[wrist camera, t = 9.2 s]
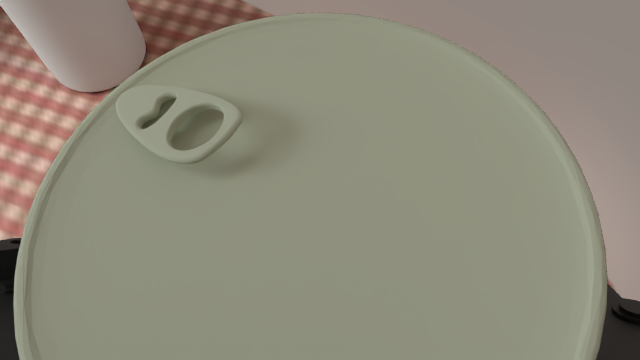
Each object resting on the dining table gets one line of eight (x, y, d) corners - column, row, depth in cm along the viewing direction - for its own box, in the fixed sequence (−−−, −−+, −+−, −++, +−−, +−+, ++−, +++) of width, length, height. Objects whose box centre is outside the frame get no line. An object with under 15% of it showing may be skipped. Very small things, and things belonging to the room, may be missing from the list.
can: (305, 195, 21) (258, -67, 11) (507, 321, 18) (720, 125, 8) (151, 384, 18) (-143, 270, 7) (368, 579, 14) (405, 879, 4)
